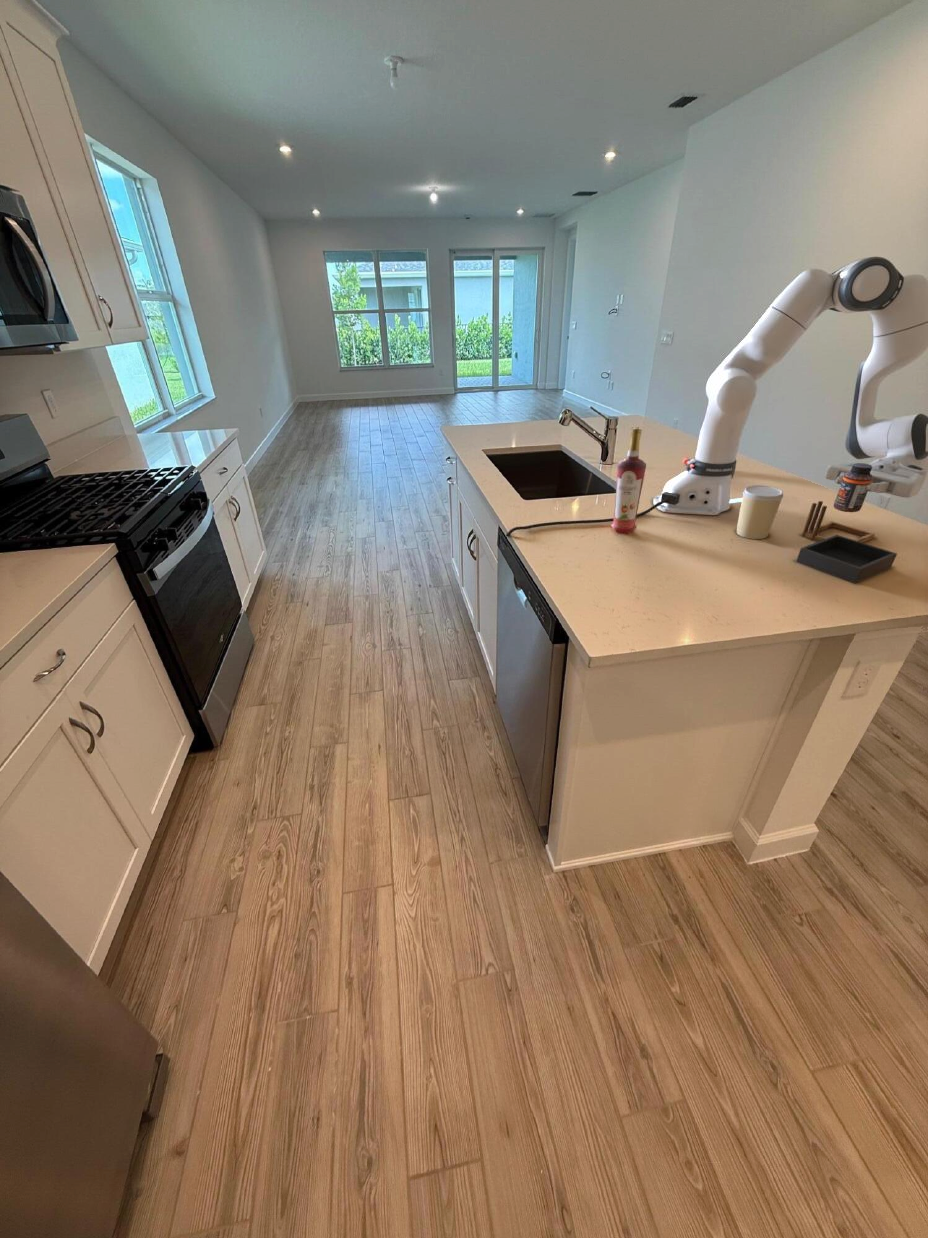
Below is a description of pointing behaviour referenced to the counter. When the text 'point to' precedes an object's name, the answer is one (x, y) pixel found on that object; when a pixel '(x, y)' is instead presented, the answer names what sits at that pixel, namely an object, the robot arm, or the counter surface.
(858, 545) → the tray
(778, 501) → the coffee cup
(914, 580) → the counter surface
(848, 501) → the supplement bottle
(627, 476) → the liquor
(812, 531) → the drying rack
